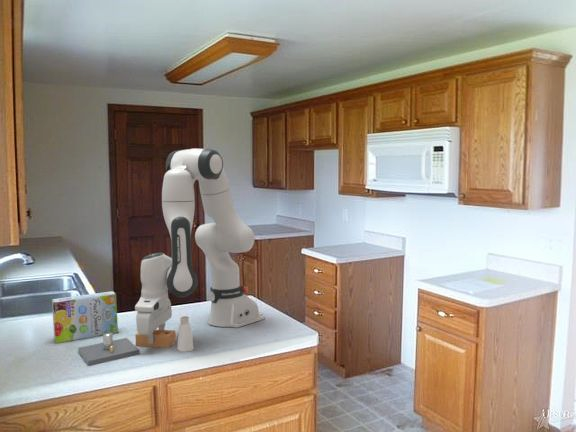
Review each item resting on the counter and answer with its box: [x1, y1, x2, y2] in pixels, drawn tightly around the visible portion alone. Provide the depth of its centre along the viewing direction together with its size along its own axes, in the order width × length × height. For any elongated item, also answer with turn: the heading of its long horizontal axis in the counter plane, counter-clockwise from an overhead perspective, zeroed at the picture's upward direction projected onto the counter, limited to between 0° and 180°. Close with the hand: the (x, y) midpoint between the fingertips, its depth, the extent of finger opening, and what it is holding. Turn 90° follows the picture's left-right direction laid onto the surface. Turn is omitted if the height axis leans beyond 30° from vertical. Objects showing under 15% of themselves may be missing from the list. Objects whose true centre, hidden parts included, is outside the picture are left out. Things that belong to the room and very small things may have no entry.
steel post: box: [102, 332, 114, 350], centre depth 161 cm, size 3×3×6 cm
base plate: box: [77, 337, 140, 366], centre depth 162 cm, size 16×14×2 cm
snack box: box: [51, 290, 119, 344], centre depth 178 cm, size 21×6×15 cm, turn 119°
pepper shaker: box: [176, 315, 194, 353], centre depth 164 cm, size 5×5×11 cm
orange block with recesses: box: [134, 329, 177, 349], centre depth 170 cm, size 12×6×4 cm, turn 80°
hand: (156, 339), depth 170 cm, fingers closed on orange block with recesses, 6 cm apart
